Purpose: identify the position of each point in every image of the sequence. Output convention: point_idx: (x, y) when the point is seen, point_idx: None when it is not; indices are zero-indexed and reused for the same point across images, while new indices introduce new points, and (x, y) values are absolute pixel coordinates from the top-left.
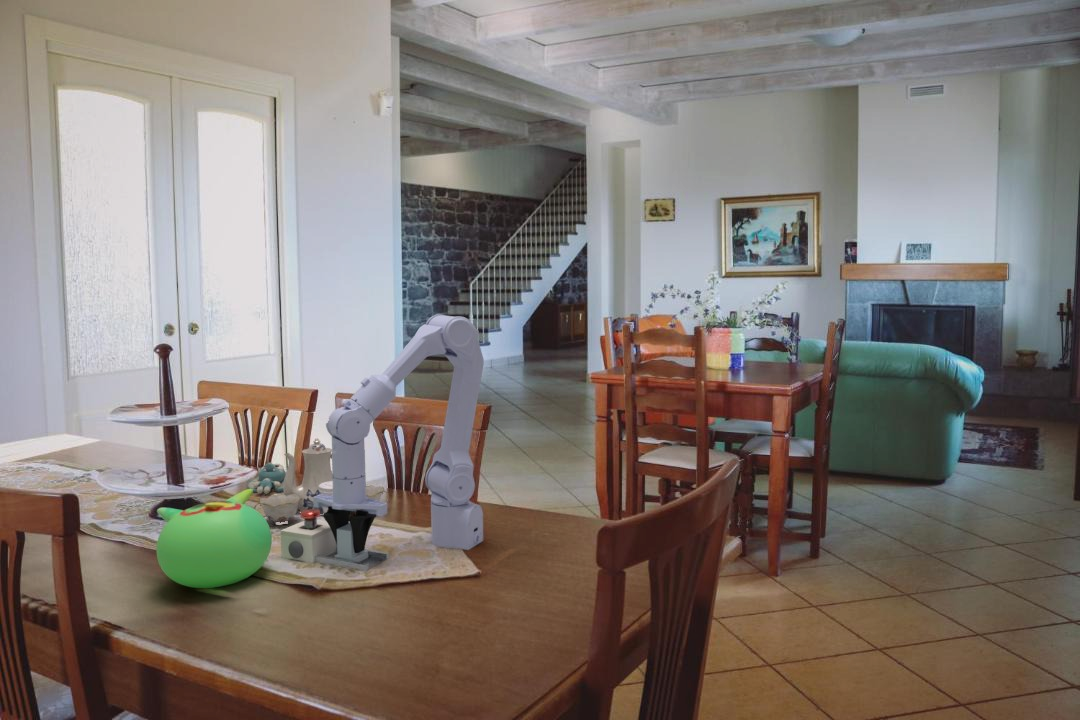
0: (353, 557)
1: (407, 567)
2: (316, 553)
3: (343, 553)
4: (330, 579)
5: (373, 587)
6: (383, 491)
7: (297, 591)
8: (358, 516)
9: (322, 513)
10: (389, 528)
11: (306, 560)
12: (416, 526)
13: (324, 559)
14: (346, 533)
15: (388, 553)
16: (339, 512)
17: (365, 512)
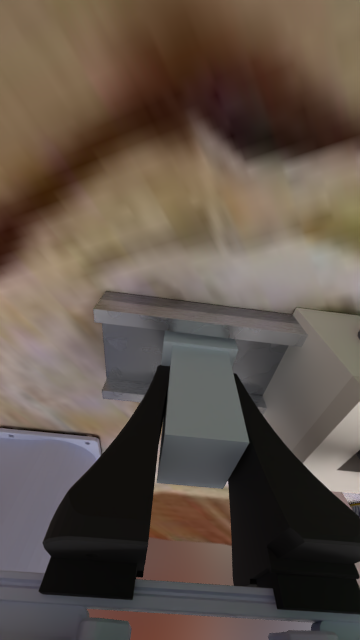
0: (167, 348)
1: (55, 365)
2: (306, 348)
3: (205, 356)
4: (200, 239)
5: (16, 211)
6: None
7: (283, 43)
8: (79, 548)
9: (354, 507)
10: None
11: (330, 322)
12: (176, 492)
13: (265, 327)
14: (190, 422)
15: (103, 395)
16: (266, 562)
17: (48, 587)
